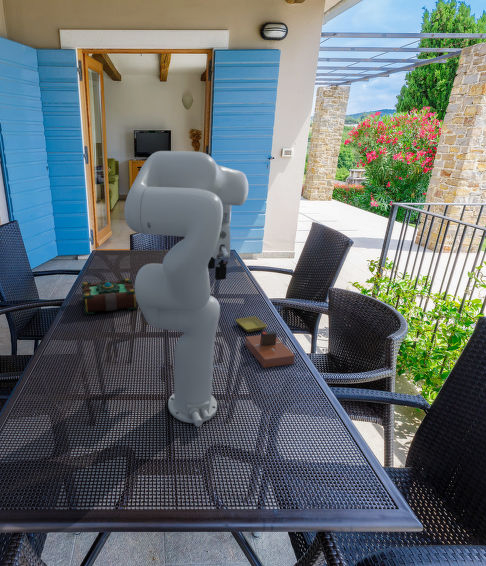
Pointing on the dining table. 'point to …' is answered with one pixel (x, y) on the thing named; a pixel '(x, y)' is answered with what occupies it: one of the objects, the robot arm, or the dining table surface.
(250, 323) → the yellow square tray
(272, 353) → the panel
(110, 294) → the book
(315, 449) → the dining table surface
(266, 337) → the black block red end
